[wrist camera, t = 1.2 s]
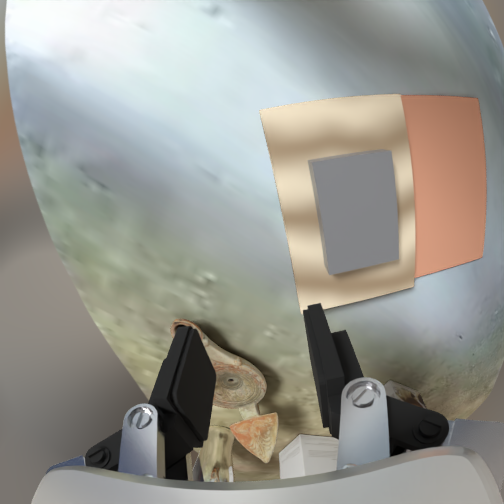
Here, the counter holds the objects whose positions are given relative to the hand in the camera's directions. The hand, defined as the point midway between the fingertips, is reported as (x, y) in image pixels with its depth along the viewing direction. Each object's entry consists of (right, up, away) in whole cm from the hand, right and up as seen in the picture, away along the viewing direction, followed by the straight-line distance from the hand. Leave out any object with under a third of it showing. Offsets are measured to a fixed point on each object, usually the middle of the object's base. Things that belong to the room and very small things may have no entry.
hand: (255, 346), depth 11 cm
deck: (+9, +9, +15) cm, 20 cm away
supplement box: (+11, -33, +33) cm, 47 cm away
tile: (+9, +7, +12) cm, 17 cm away
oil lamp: (-3, -11, +24) cm, 26 cm away
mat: (+22, +11, +14) cm, 28 cm away
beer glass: (-6, -28, +31) cm, 42 cm away
